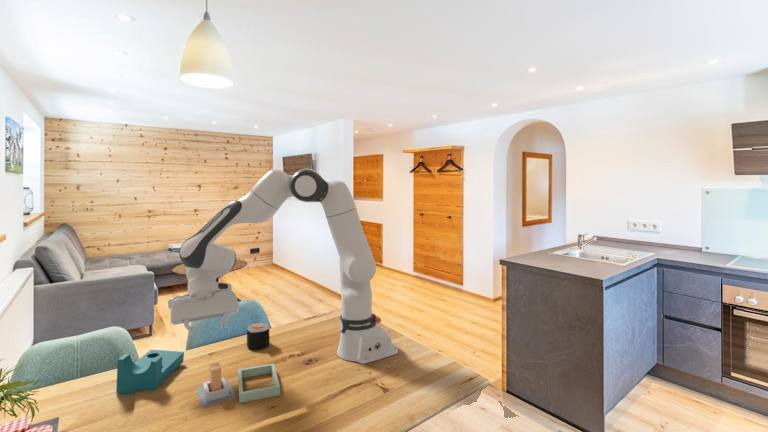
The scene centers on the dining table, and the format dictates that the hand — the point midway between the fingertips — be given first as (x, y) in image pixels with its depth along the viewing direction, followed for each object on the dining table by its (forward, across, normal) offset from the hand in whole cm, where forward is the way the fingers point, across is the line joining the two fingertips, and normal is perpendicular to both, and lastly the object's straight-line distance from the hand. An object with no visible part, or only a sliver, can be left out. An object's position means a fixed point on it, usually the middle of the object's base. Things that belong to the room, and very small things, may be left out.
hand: (208, 330), depth 120 cm
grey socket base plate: (+20, 0, +2) cm, 20 cm away
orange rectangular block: (+19, 0, +2) cm, 19 cm away
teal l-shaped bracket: (+5, -16, +17) cm, 24 cm away
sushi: (0, +19, +22) cm, 30 cm away
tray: (+21, +12, 0) cm, 24 cm away
